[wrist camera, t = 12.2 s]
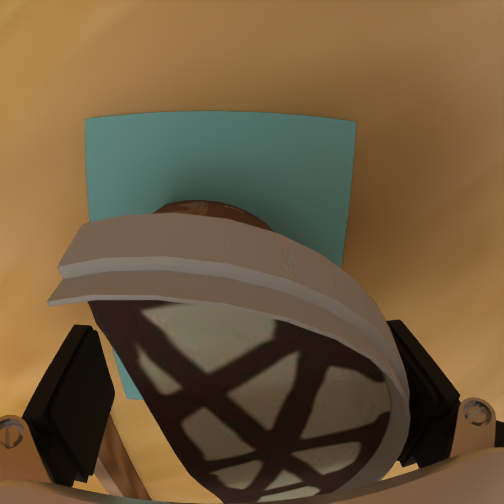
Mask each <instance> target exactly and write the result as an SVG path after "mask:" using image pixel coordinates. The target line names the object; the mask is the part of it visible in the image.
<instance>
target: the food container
mask: <svg viewBox="0 0 504 504" xmlns="http://www.w3.org/2000/svg"><path fill="white" fill-rule="evenodd" d="M57 267H58V270H59V272H60V274H61V276H62V278H63V280H62V282H61V283H60V284H59V286H58V287H57V288H56V290H55V291H54V292H53V294H52V295H51V297H50V298H49V299H48V301H47V303H48V304H49V306H55V305H63V304H70V303H78V302H85V301H88V303H89V305H90V307H91V310H92V313H93V316H94V319H95V321H96V324H97V325H98V327H99V328H100V329H101V331H102V332H103V333H104V335H105V336H106V337H107V339H108V340H109V342H110V344H111V345H112V347H113V349H114V350H115V352H116V353H117V355H118V356H119V358H120V360H121V362H122V364H123V365H124V367H125V369H126V371H127V372H128V374H129V376H130V378H131V379H132V381H133V383H134V384H135V386H136V388H137V389H138V391H139V393H140V394H141V396H142V397H143V399H144V401H145V403H146V405H147V406H148V408H149V410H150V411H151V413H152V415H153V416H154V418H155V420H156V421H157V423H158V425H159V427H160V428H161V430H162V432H163V434H164V435H165V437H166V439H167V441H168V442H169V444H170V446H171V447H172V449H173V451H174V452H175V454H176V455H177V457H178V458H179V460H180V461H181V463H182V464H183V465H184V467H185V468H186V470H187V472H188V473H189V474H190V475H191V476H192V477H193V478H194V479H195V480H196V481H197V482H199V483H200V484H201V485H202V486H203V487H205V488H206V489H207V490H209V491H210V492H212V493H213V494H215V495H216V496H217V497H218V498H219V499H220V500H221V501H222V502H223V503H224V504H231V503H253V502H266V501H277V500H286V499H294V498H301V497H308V496H314V495H320V494H326V493H331V492H336V491H341V490H346V489H351V488H355V487H359V486H363V485H367V484H371V483H375V482H379V481H380V480H381V479H382V478H383V477H384V476H385V475H386V474H387V473H388V471H389V470H390V469H391V468H392V466H393V465H394V463H395V462H396V460H397V459H398V457H399V456H400V454H401V452H402V450H403V447H404V445H405V443H406V440H407V437H408V433H409V426H410V418H411V417H410V411H409V395H410V392H409V387H408V381H407V376H406V371H405V368H404V365H403V362H402V360H401V357H400V354H399V351H398V349H397V346H396V343H395V341H394V338H393V336H392V333H391V330H390V328H389V326H388V324H387V322H386V321H385V319H384V317H383V315H382V313H381V311H380V309H379V308H378V306H377V304H376V303H375V301H374V300H373V299H372V298H371V297H370V296H369V295H368V293H367V292H366V291H365V290H364V289H363V288H362V287H361V286H360V284H359V283H358V282H357V281H356V280H355V279H354V278H353V277H352V276H350V275H349V274H348V273H346V272H345V271H344V270H342V269H341V268H340V267H338V266H337V265H335V264H334V263H333V262H331V261H330V260H329V259H327V258H326V257H325V256H323V255H322V254H320V253H318V252H316V251H314V250H312V249H310V248H308V247H306V246H304V245H302V244H299V243H297V242H295V241H293V240H291V239H289V238H287V237H285V236H283V235H281V234H278V233H276V232H275V231H273V230H272V229H271V228H270V227H269V226H268V225H267V224H266V223H265V222H263V221H262V220H260V219H259V218H257V217H256V216H254V215H253V214H251V213H249V212H247V211H245V210H243V209H241V208H238V207H236V206H233V205H229V204H225V203H222V202H217V201H208V200H184V201H179V202H174V203H169V204H165V205H163V206H162V207H161V208H159V209H158V210H156V211H155V212H153V213H152V214H137V215H122V216H118V217H113V218H109V219H105V220H100V221H96V222H92V223H88V224H83V225H82V227H81V228H80V230H79V231H78V233H77V235H76V236H75V238H74V239H73V241H72V243H71V244H70V246H69V248H68V249H67V251H66V253H65V254H64V256H63V258H62V259H61V261H60V263H59V265H58V266H57Z"/></svg>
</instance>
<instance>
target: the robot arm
mask: <svg viewBox="0 0 504 504" xmlns="http://www.w3.org/2000/svg"><path fill="white" fill-rule="evenodd" d="M386 322H387V324H388V326H389V328H390V330H391V333H392V336H393V338H394V341H395V343H396V346H397V349H398V351H399V354H400V357H401V360H402V362H403V365H404V368H405V371H406V376H407V381H408V387H409V392H410V395H409V411H410V417H411V418H410V426H409V433H408V437H407V440H406V443H405V445H404V447H403V450H402V452H401V454H400V456H399V457H398V459H397V461H400V463H401V465H402V467H406V466H409V465H412V464H415V463H416V462H417V464H418V466H419V468H418V470H415V471H412V472H408V473H405V474H402V475H399V476H396V477H392V478H389V479H386V480H382V481H379V482H375V483H371V484H367V485H363V486H359V487H355V488H351V489H346V490H341V491H336V492H331V493H326V494H320V495H314V496H308V497H301V498H294V499H286V500H277V501H266V502H253V503H231V504H504V423H503V422H500V421H497V420H496V415H495V411H494V409H493V408H492V406H491V405H490V404H489V403H487V402H486V401H485V400H482V399H480V398H474V397H472V398H467V399H465V400H463V401H462V402H460V401H459V397H460V394H459V393H458V391H457V390H456V389H455V387H454V386H453V385H452V383H451V382H450V381H449V379H448V378H447V377H446V376H445V374H444V373H443V372H442V370H441V369H440V368H439V367H438V365H437V364H436V363H435V361H434V360H433V359H432V358H431V356H430V355H429V354H428V353H427V351H426V350H425V349H424V348H423V346H422V345H421V344H420V343H419V342H418V340H417V339H416V338H415V337H414V335H413V334H412V333H411V332H410V331H409V329H408V328H407V327H406V326H405V325H404V323H403V322H402V321H401V320H391V321H386ZM114 397H115V390H114V386H113V383H112V380H111V377H110V374H109V370H108V367H107V364H106V360H105V357H104V353H103V350H102V346H101V342H100V339H99V335H98V332H97V331H96V330H93V328H92V326H89V325H74V326H73V327H72V329H71V331H70V332H69V334H68V335H67V337H66V339H65V340H64V342H63V344H62V345H61V347H60V349H59V350H58V352H57V354H56V356H55V357H54V359H53V361H52V362H51V364H50V365H49V367H48V369H47V370H46V372H45V374H44V376H43V378H42V379H41V381H40V383H39V385H38V387H37V389H36V390H35V392H34V394H33V396H32V398H31V400H30V402H29V404H28V406H27V408H26V410H25V412H24V414H23V416H22V418H21V417H19V416H16V415H6V416H2V417H0V504H197V503H174V502H161V501H151V500H142V499H134V498H127V497H120V496H113V495H107V494H101V493H96V492H91V491H86V490H81V489H77V488H72V486H73V483H74V480H76V481H80V482H84V483H87V480H88V476H89V475H90V476H92V475H93V473H94V470H95V466H96V462H97V458H98V454H99V450H100V446H101V443H102V439H103V435H104V432H105V428H106V425H107V421H108V418H109V414H110V411H111V407H112V404H113V401H114Z"/></svg>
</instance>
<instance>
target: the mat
mask: <svg viewBox="0 0 504 504" xmlns="http://www.w3.org/2000/svg"><path fill="white" fill-rule="evenodd" d="M355 134H356V122H354V121H347V120H340V119H332V118H324V117H314V116H304V115H293V114H280V113H264V112H241V111H178V112H155V113H139V114H127V115H116V116H106V117H97V118H89V119H85V151H86V176H87V192H88V204H89V215H90V223H92V222H96V221H100V220H105V219H109V218H113V217H118V216H122V215H137V214H152V213H153V212H155V211H156V210H158V209H159V208H161V207H162V206H163V205H165V204H169V203H174V202H179V201H184V200H208V201H217V202H222V203H225V204H229V205H233V206H236V207H238V208H241V209H243V210H245V211H247V212H249V213H251V214H253V215H254V216H256V217H257V218H259V219H260V220H262V221H263V222H265V223H266V224H267V225H268V226H269V227H270V228H271V229H272V230H273V231H275V232H276V233H278V234H281V235H283V236H285V237H287V238H289V239H291V240H293V241H295V242H297V243H299V244H302V245H304V246H306V247H308V248H310V249H312V250H314V251H316V252H318V253H320V254H322V255H323V256H325V257H326V258H327V259H329V260H330V261H331V262H333V263H334V264H335V265H337V266H338V267H340V268H341V265H342V258H343V251H344V244H345V237H346V229H347V221H348V213H349V204H350V194H351V184H352V174H353V162H354V149H355ZM113 351H114V355H115V359H116V363H117V366H118V370H119V373H120V377H121V380H122V384H123V387H124V390H125V394H126V397H127V399H140V400H144V399H143V397H142V396H141V394H140V393H139V391H138V389H137V388H136V386H135V384H134V383H133V381H132V379H131V378H130V376H129V374H128V372H127V371H126V369H125V367H124V365H123V364H122V362H121V360H120V358H119V356H118V355H117V353H116V352H115V350H114V349H113Z"/></svg>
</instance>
